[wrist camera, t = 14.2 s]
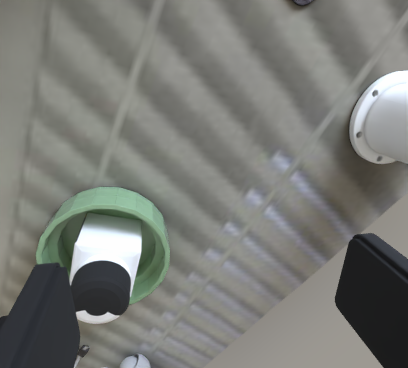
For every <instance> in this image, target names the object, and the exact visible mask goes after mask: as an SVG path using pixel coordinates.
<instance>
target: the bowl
mask: <svg viewBox="0 0 408 368" xmlns="http://www.w3.org/2000/svg"><path fill="white" fill-rule="evenodd" d="M87 213H94V214H101V215H108V216H115V217H122V218H129V219H136V220H141V221H142V246H141V256H140V260H139V264H138V268H137V273H136V277H135V281H134V285H133V290H132V294H131V297H130V302H129V305H131V304H134V303H136V302H138V301H140V300H141V299H143V298H145V297H146V296H148V295H149V294H151V293H152V292H153V291H154V290H155V289H156V288H157V286H158V285H159V284H160V283H161V282H162V281H163V279H164V277H165V274H166V272H167V270H168V268H169V259H170V247H169V240H168V232H167V228H166V225H165V222H164V219H163V216H162V214H161V213H160V212H159V210H158V209H157V208H156V207H155V205H154V204H153V203H152V202H150V201H149V200H147V199H146V198H144V197H143V196H141V195H140V194H138V193H136V192H133V191H129V190H126V189H123V188H119V187H97V188H94V189H90V190H86V191H83V192H80V193H78V194H76V195H75V196H73V197H71V198H70V199H68V200H67V201H65V202H64V203H63V204H62V205H61V206H60V208H59V209H58V210H57V212H56V213H55V214H54V216H53V217H52V219H51V220H50V222H49V224H48V225H47V227H46V229H45V231H44V232H43V234H42V236H41V237H40V240H39V244H38V248H37V251H36V261H37V264H44V263H55V262H58V263H59V264H60V267H66V268H67V271H68V276H69V280H70V273H71V266H72V259H73V251H74V244H75V242H76V239H77V236H78V234H79V231H80V229H81V226H82V223H83V221H84V218H85V216H86V214H87Z"/></svg>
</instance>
